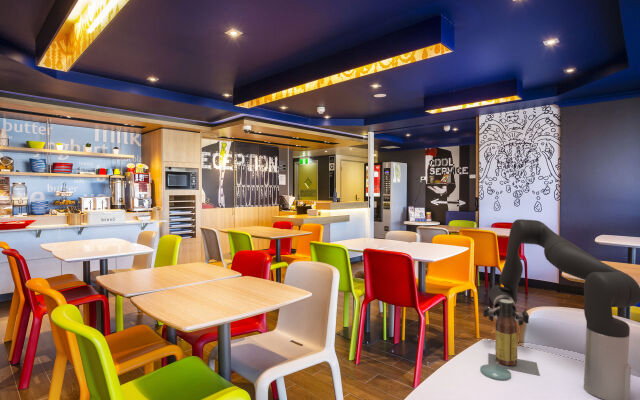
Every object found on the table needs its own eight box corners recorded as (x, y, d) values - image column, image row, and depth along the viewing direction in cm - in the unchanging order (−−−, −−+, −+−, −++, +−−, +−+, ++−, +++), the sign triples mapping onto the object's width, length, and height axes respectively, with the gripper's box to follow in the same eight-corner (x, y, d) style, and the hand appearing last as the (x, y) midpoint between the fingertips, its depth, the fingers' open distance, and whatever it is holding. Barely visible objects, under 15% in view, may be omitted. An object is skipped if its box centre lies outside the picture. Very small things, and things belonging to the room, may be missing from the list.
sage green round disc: (510, 370, 111) (510, 368, 111) (511, 383, 104) (512, 381, 104) (480, 363, 115) (480, 362, 115) (479, 376, 107) (479, 374, 107)
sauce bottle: (512, 358, 119) (514, 298, 118) (520, 367, 113) (523, 304, 112) (491, 357, 120) (493, 297, 119) (498, 366, 113) (500, 303, 113)
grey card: (536, 362, 116) (536, 362, 116) (539, 375, 108) (539, 375, 108) (488, 353, 122) (488, 353, 122) (488, 365, 114) (488, 364, 114)
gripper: (484, 294, 141) (483, 306, 126) (526, 300, 134) (530, 313, 120) (483, 313, 141) (482, 327, 126) (525, 319, 135) (529, 335, 120)
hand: (506, 320), depth 123 cm, fingers open, 8 cm apart
